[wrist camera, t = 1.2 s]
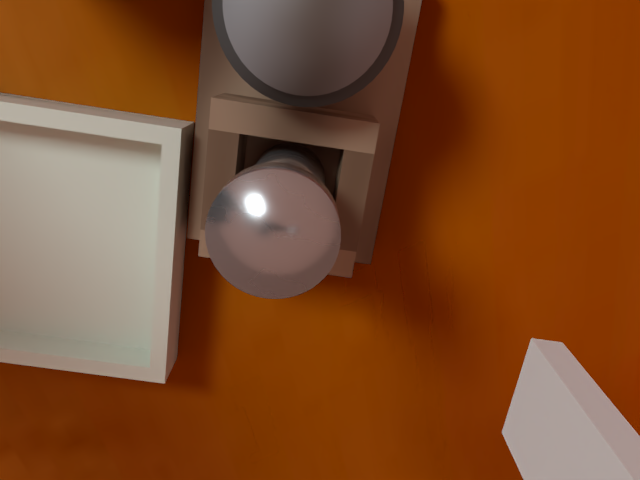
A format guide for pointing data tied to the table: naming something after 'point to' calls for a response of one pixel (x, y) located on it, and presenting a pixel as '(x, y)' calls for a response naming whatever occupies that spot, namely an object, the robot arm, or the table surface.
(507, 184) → the table surface
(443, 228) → the table surface
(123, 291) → the tray
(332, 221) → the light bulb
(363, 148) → the block
